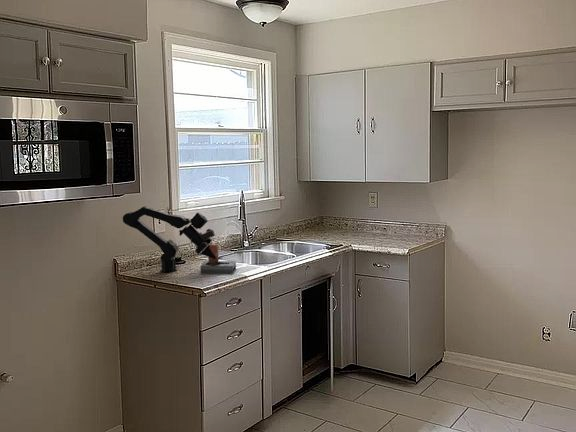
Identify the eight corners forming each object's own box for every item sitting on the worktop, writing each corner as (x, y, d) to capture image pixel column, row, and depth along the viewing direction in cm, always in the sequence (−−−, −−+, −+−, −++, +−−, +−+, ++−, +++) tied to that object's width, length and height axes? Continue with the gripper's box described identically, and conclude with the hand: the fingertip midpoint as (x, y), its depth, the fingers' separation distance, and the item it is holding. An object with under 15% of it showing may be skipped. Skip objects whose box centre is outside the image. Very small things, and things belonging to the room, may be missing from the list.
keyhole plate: (200, 273, 299) (200, 265, 299) (204, 268, 312) (204, 261, 312) (232, 273, 299) (232, 265, 299) (235, 268, 312) (235, 260, 311)
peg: (209, 271, 302) (209, 245, 301) (207, 269, 307) (206, 244, 306) (220, 270, 304) (219, 245, 303) (217, 268, 309) (217, 243, 308)
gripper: (201, 226, 294) (224, 249, 295) (207, 222, 312) (229, 243, 313) (185, 242, 295) (208, 265, 296) (193, 237, 314) (214, 258, 314)
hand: (216, 257), depth 305 cm, fingers closed on peg, 5 cm apart
